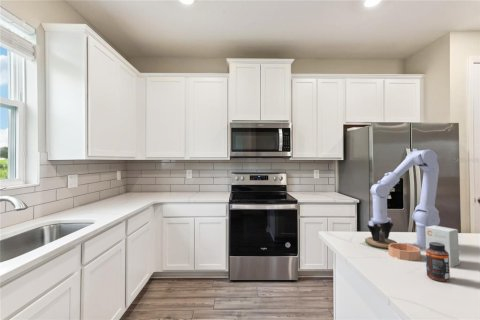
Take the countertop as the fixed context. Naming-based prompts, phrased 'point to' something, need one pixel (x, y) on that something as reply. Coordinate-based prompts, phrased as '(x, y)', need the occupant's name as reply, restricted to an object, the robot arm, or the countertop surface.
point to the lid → (380, 241)
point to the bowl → (404, 251)
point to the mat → (375, 247)
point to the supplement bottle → (437, 262)
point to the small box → (444, 241)
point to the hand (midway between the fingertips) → (380, 239)
